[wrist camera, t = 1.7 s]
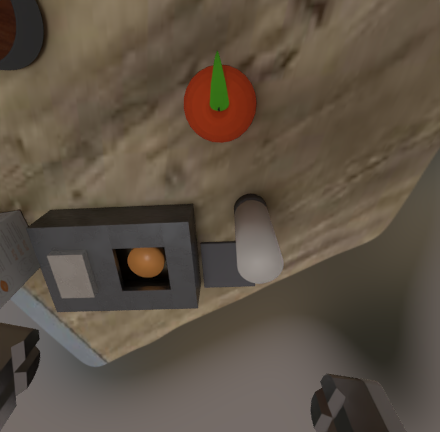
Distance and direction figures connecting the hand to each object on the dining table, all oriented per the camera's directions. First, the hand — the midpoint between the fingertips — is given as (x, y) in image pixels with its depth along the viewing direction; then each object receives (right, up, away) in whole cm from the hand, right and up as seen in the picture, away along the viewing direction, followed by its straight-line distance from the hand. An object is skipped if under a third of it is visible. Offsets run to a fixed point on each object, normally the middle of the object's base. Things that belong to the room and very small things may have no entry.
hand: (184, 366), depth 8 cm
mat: (+2, -2, +31) cm, 32 cm away
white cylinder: (+5, +5, +28) cm, 29 cm away
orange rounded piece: (-8, -1, +29) cm, 30 cm away
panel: (-11, 0, +31) cm, 33 cm away
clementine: (+1, +17, +23) cm, 28 cm away
